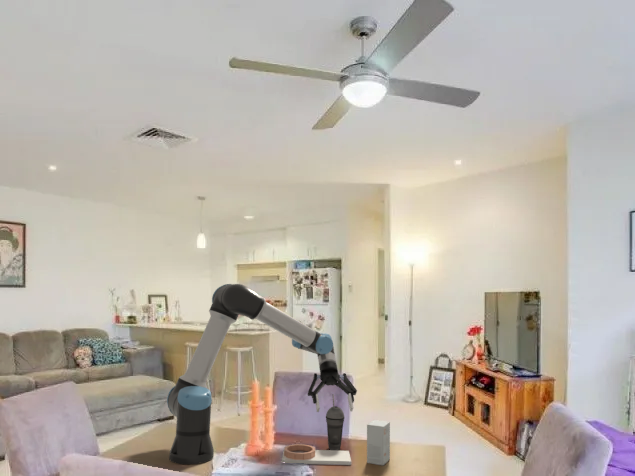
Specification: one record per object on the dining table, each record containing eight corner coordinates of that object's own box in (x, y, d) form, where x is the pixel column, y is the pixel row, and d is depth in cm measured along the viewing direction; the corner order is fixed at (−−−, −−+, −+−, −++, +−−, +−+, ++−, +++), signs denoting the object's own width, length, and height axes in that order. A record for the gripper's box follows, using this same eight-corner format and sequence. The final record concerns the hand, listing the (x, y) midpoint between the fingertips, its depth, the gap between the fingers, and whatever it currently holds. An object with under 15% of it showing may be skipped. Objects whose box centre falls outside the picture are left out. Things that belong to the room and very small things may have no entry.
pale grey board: (281, 463, 167) (281, 459, 167) (283, 452, 179) (283, 449, 179) (351, 465, 167) (351, 461, 167) (348, 454, 179) (348, 450, 179)
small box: (373, 456, 177) (373, 419, 179) (390, 459, 175) (390, 421, 176) (366, 462, 170) (366, 424, 172) (383, 465, 167) (383, 426, 169)
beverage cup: (336, 453, 180) (337, 397, 183) (321, 449, 184) (322, 394, 187) (347, 448, 186) (348, 394, 188) (332, 444, 190) (333, 392, 193)
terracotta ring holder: (283, 459, 168) (283, 453, 168) (285, 449, 179) (285, 443, 179) (315, 460, 168) (315, 454, 168) (315, 450, 179) (315, 444, 179)
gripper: (354, 370, 212) (363, 414, 196) (298, 371, 208) (302, 415, 191) (357, 359, 208) (367, 403, 191) (300, 360, 203) (305, 405, 187)
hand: (335, 409), depth 191 cm, fingers open, 13 cm apart
